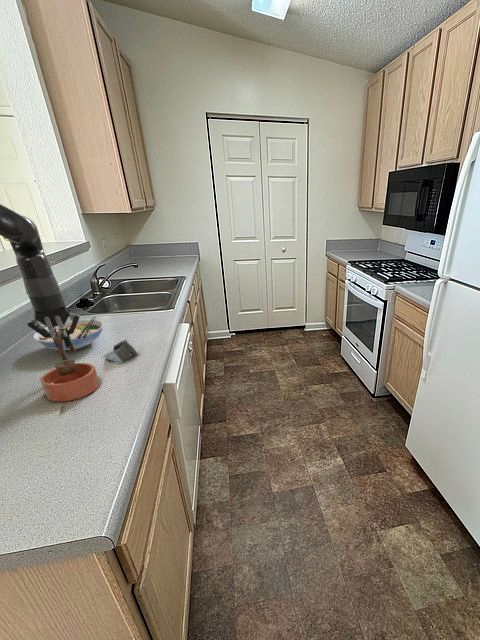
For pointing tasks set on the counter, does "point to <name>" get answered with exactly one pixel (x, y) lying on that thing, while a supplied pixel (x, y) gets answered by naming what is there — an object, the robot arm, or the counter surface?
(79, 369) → the bowl
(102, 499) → the counter surface
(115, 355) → the grey angular wedge
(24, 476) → the counter surface
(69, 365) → the brown bent ladle
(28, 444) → the counter surface
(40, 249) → the robot arm
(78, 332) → the ramen bowl
